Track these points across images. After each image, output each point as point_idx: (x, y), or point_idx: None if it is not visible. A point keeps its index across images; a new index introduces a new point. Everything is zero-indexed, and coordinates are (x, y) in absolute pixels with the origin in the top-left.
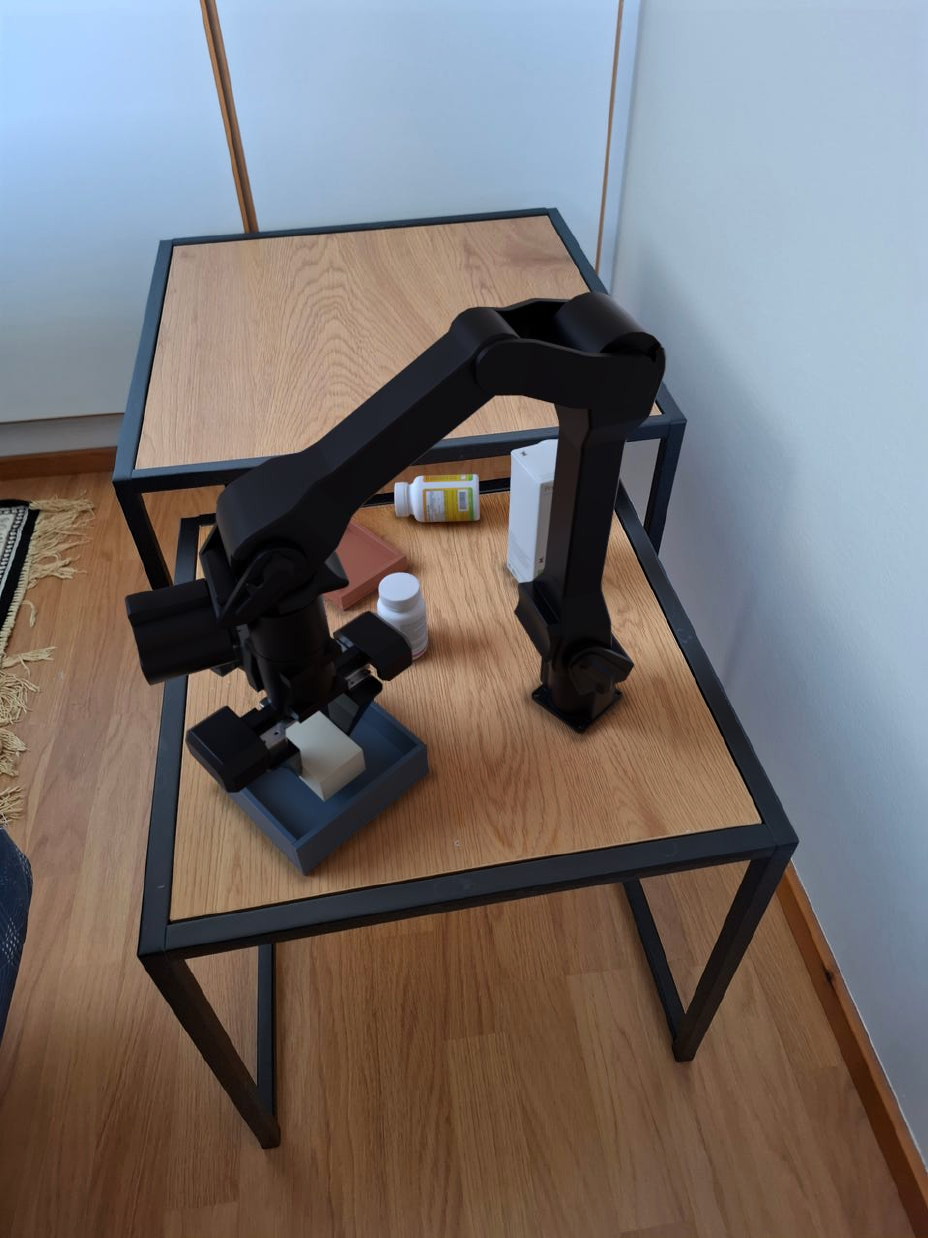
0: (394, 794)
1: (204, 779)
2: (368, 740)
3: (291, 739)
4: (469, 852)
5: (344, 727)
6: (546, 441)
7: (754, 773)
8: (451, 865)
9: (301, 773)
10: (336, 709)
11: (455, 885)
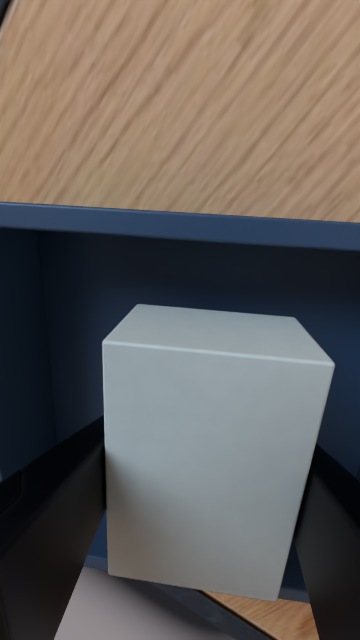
0: None
1: (15, 153)
2: (345, 393)
3: (146, 426)
4: (257, 604)
5: (307, 568)
6: None
7: None
8: (224, 596)
9: None
10: (358, 614)
11: (204, 610)
